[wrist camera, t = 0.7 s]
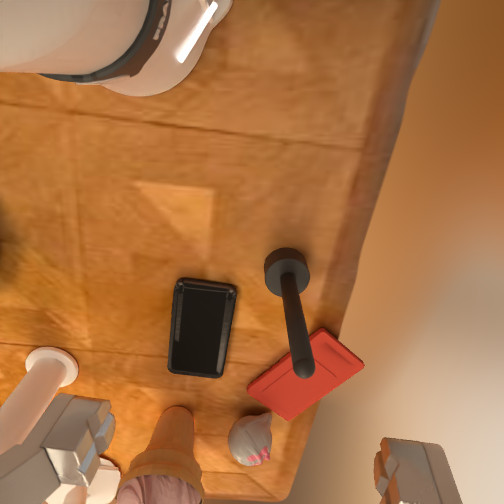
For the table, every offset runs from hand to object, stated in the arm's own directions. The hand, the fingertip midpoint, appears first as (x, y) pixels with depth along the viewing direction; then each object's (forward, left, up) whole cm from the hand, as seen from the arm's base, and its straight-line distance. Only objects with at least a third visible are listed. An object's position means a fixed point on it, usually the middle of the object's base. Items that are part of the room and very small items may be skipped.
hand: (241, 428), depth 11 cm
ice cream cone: (+36, -15, -32) cm, 50 cm away
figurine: (+50, -36, -33) cm, 70 cm away
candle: (+24, -31, -32) cm, 50 cm away
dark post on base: (+12, +3, -31) cm, 34 cm away
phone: (+20, -9, -31) cm, 38 cm away
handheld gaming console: (+34, -1, -31) cm, 46 cm away
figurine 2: (+38, -7, -25) cm, 47 cm away
